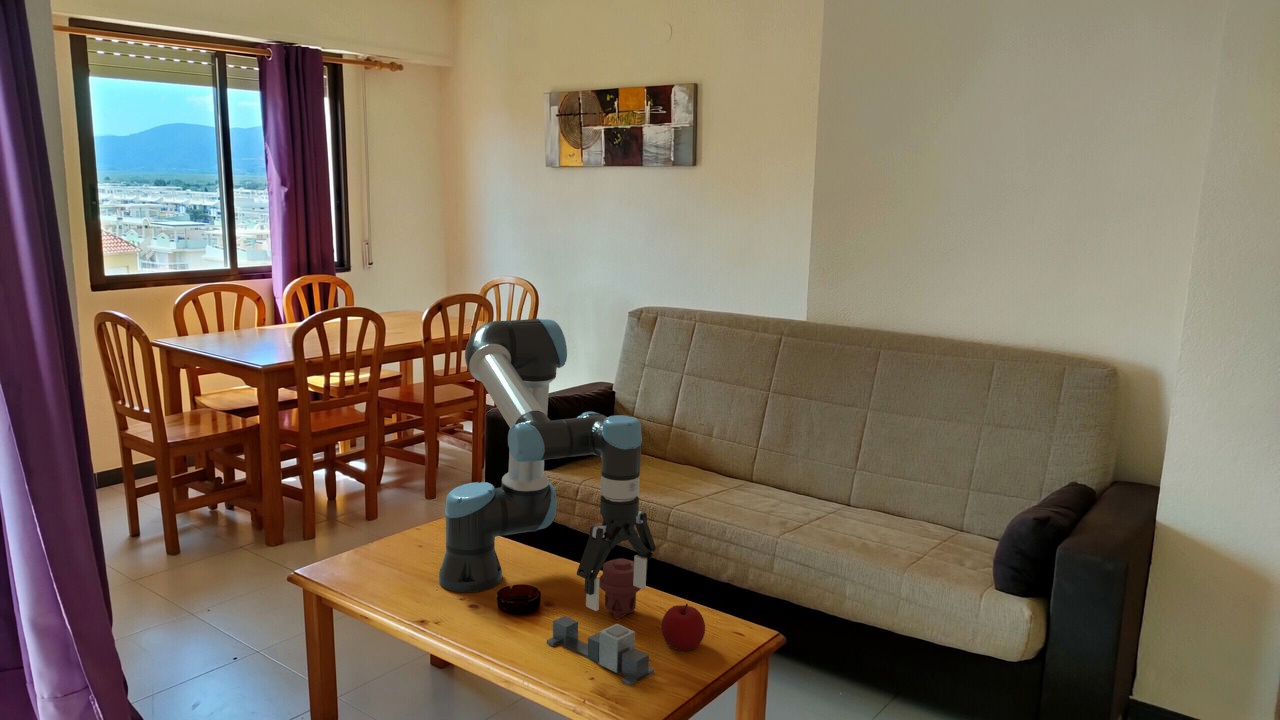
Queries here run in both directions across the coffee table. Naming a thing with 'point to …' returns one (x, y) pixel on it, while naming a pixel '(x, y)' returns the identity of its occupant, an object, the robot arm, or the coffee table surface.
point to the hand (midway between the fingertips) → (616, 597)
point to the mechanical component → (619, 587)
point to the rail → (567, 636)
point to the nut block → (615, 646)
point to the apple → (683, 627)
